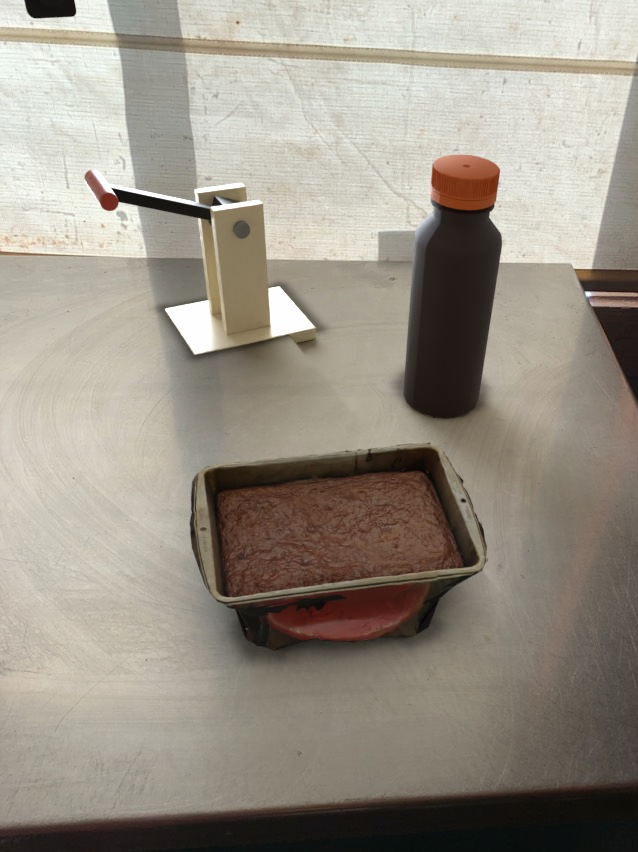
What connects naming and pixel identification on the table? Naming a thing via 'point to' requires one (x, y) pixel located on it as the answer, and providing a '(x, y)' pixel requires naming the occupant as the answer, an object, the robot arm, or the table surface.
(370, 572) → the baking dish
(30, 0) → the robot arm
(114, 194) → the lever
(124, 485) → the table surface
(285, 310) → the bracket
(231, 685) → the table surface
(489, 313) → the bottle
